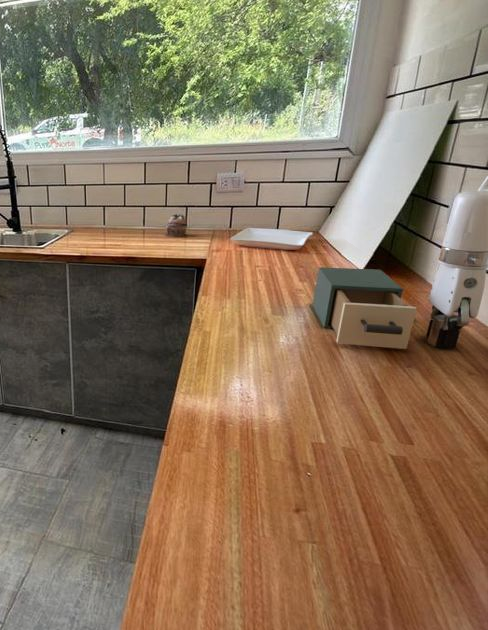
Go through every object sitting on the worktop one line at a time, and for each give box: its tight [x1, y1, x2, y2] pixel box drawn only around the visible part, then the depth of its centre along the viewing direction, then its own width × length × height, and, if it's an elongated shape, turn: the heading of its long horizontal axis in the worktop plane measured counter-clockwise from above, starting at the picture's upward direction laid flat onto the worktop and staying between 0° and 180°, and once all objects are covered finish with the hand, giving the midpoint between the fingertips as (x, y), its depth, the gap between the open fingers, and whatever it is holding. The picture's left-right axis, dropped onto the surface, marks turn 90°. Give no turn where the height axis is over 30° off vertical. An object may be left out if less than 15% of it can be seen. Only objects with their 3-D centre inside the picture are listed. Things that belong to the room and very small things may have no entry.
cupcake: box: [165, 213, 188, 238], centre depth 208 cm, size 10×10×10 cm
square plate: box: [230, 227, 314, 251], centre depth 186 cm, size 27×27×4 cm
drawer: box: [329, 289, 418, 350], centre depth 95 cm, size 19×12×9 cm, turn 162°
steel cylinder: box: [427, 315, 457, 347], centre depth 93 cm, size 4×4×6 cm
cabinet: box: [311, 266, 404, 329], centre depth 107 cm, size 16×14×11 cm
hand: (440, 341), depth 94 cm, fingers closed on steel cylinder, 4 cm apart
